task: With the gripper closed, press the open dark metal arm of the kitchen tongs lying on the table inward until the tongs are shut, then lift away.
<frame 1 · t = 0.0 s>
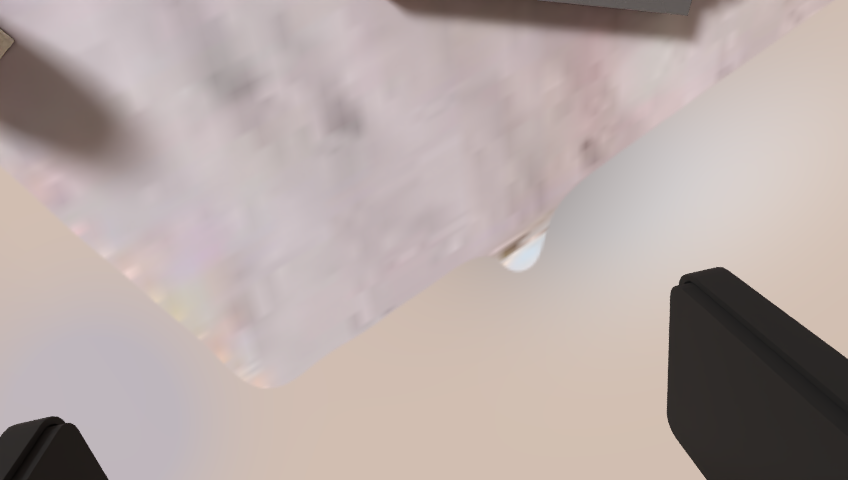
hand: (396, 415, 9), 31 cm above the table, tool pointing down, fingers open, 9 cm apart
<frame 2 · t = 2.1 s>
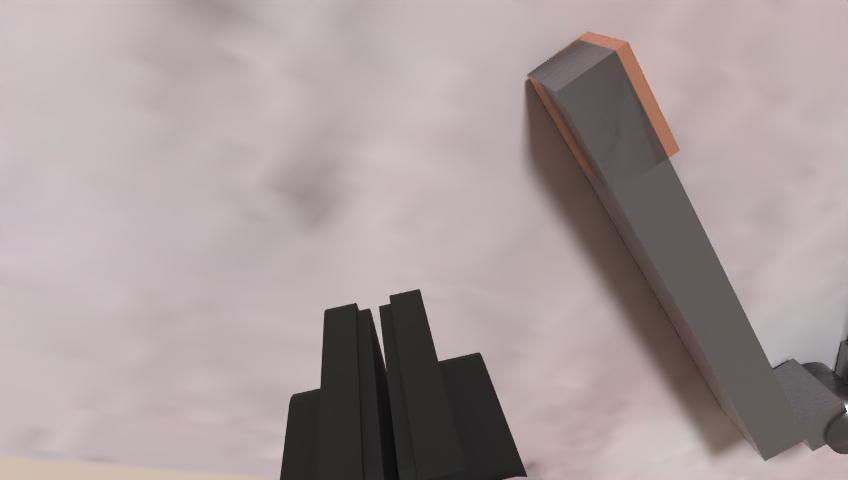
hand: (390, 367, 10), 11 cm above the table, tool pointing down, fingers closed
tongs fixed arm: (801, 381, 27), on the table
tongs free arm: (733, 277, 22), point 2 cm above the table, hinge at 25.0°
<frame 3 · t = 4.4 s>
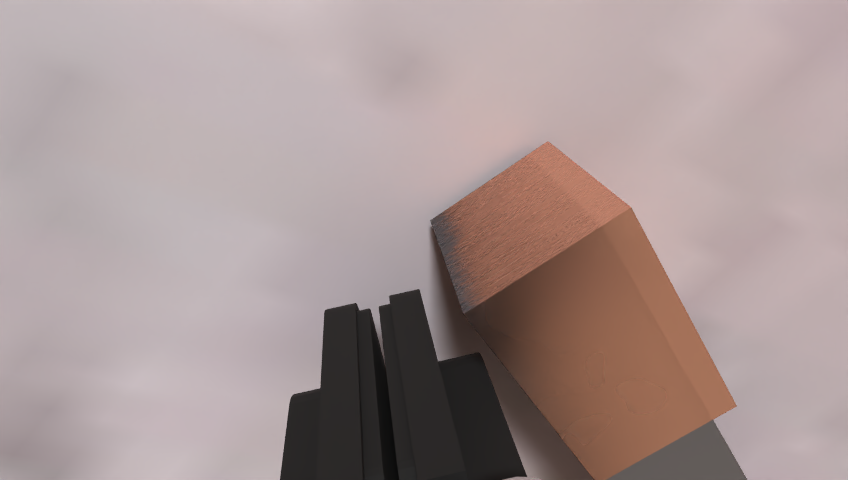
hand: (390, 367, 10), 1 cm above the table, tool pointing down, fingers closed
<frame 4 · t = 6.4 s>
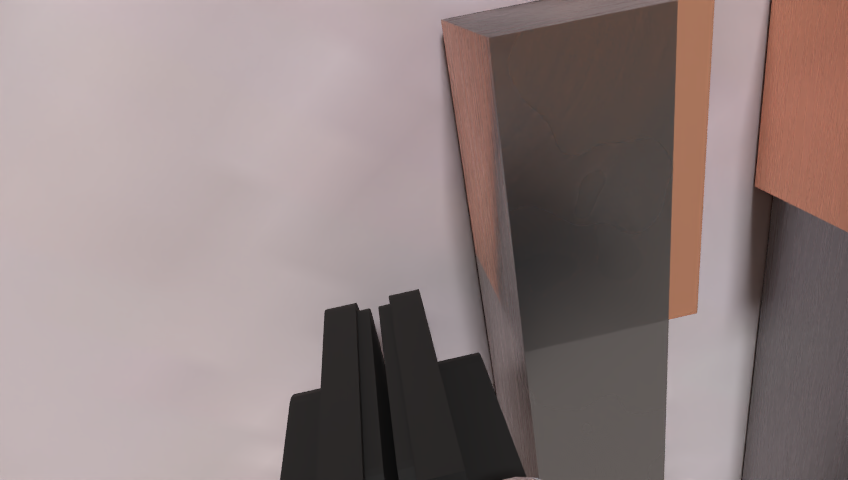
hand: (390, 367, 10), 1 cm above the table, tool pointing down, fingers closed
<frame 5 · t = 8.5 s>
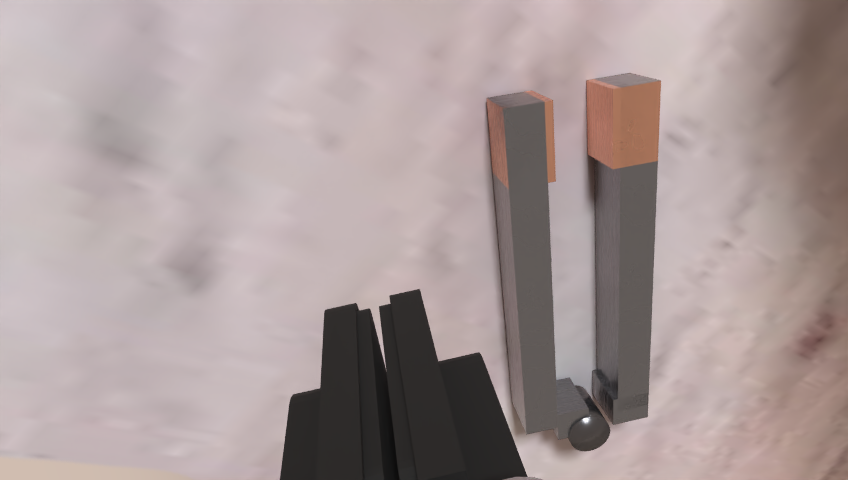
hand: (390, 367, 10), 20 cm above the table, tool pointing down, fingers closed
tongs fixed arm: (569, 399, 37), on the table
tongs free arm: (554, 290, 32), point 2 cm above the table, hinge at -0.4°
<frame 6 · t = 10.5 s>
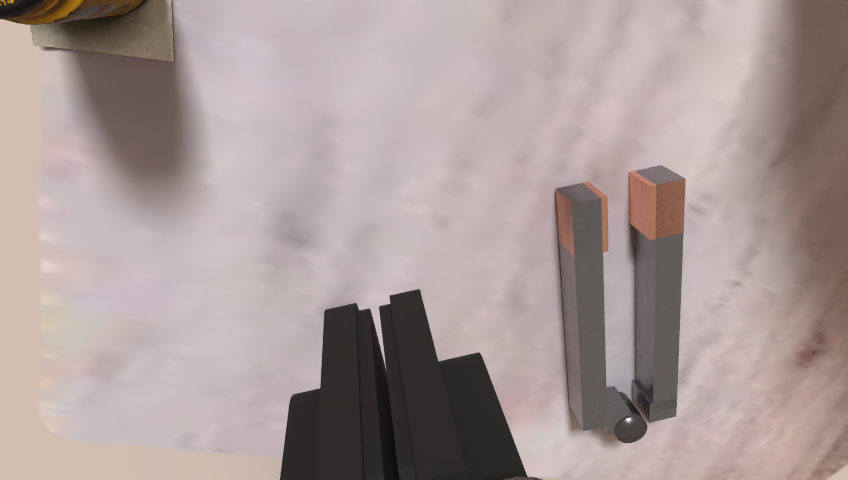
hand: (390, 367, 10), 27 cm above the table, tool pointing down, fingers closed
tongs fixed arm: (613, 402, 48), on the table
tongs free arm: (605, 324, 42), point 2 cm above the table, hinge at -0.4°
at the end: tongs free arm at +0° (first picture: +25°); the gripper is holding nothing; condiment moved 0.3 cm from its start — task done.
